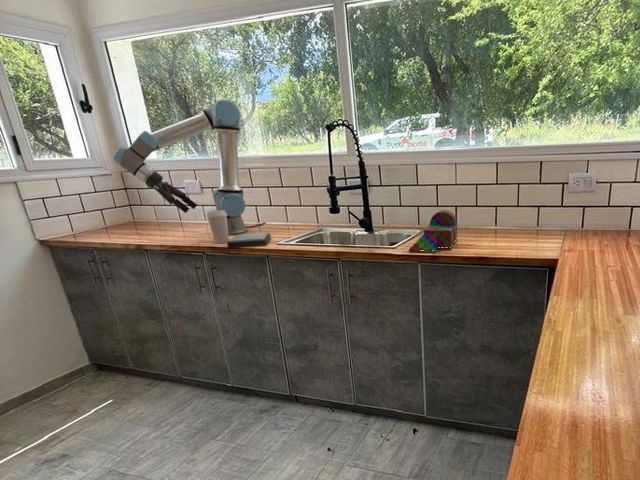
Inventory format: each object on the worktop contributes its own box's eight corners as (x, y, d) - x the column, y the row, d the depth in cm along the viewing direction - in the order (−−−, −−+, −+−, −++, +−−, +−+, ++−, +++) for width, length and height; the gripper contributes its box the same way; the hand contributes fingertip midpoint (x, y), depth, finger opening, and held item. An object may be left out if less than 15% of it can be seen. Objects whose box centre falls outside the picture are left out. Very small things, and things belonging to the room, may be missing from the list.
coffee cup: (235, 240, 225) (230, 209, 219) (226, 244, 216) (220, 212, 210) (217, 240, 226) (211, 209, 220) (207, 244, 217) (201, 212, 211)
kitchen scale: (235, 240, 224) (234, 234, 223) (271, 238, 226) (270, 232, 225) (228, 247, 208) (226, 241, 207) (266, 245, 210) (265, 238, 209)
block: (421, 240, 212) (420, 209, 207) (456, 240, 209) (456, 209, 204) (409, 252, 189) (408, 218, 184) (449, 253, 186) (449, 218, 181)
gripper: (154, 181, 217) (194, 211, 225) (134, 185, 194) (179, 218, 202) (163, 169, 216) (203, 199, 224) (144, 172, 193) (189, 206, 201)
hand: (191, 208), depth 213 cm, fingers open, 13 cm apart
